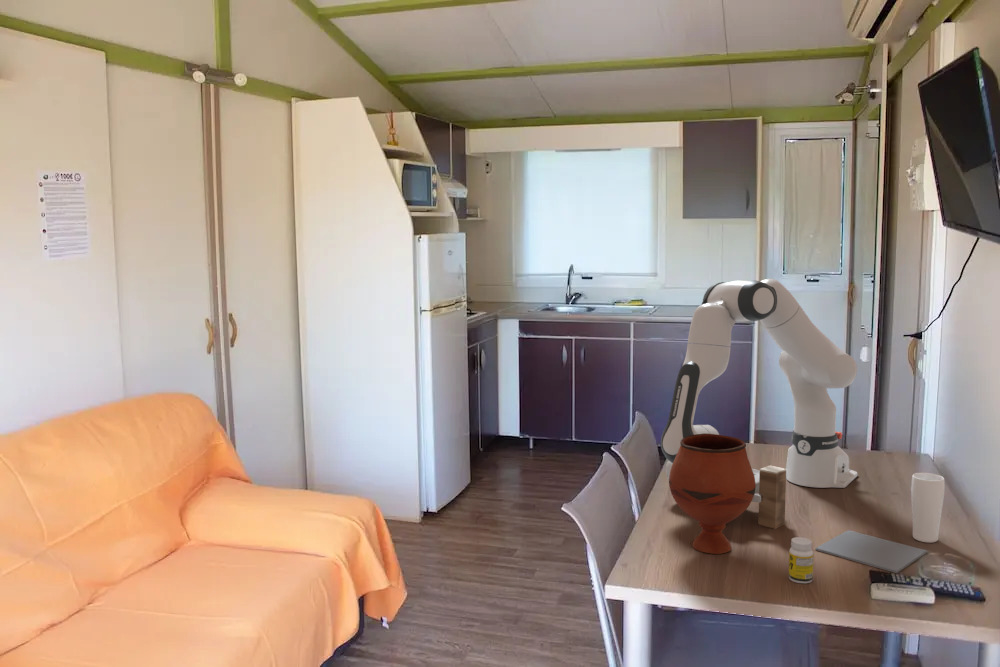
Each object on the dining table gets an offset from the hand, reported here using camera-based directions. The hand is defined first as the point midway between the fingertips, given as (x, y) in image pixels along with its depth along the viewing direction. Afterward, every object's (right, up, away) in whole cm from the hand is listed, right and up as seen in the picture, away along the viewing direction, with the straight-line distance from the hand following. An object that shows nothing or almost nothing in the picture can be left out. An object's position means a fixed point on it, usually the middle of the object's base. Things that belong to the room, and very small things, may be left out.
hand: (771, 494), depth 206 cm
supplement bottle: (-4, -12, -31) cm, 34 cm away
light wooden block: (0, -7, +1) cm, 8 cm away
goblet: (-18, -10, -13) cm, 24 cm away
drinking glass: (+32, -9, -11) cm, 35 cm away
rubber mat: (+17, -9, -17) cm, 26 cm away
